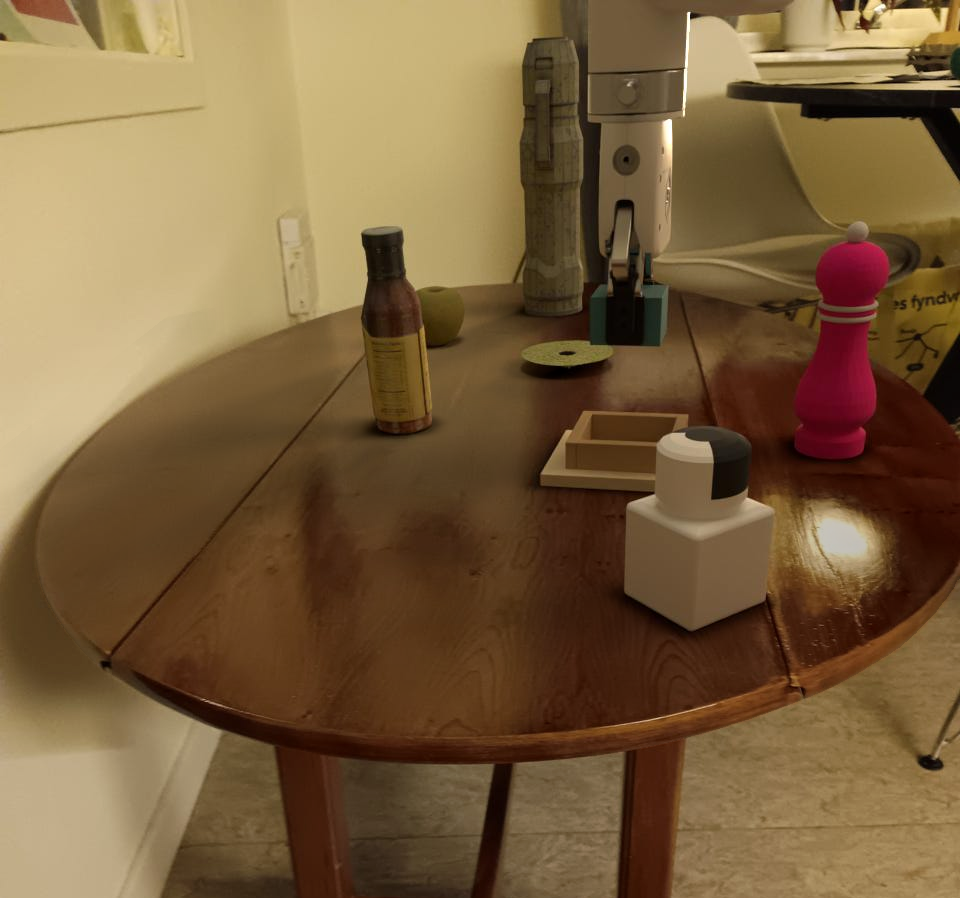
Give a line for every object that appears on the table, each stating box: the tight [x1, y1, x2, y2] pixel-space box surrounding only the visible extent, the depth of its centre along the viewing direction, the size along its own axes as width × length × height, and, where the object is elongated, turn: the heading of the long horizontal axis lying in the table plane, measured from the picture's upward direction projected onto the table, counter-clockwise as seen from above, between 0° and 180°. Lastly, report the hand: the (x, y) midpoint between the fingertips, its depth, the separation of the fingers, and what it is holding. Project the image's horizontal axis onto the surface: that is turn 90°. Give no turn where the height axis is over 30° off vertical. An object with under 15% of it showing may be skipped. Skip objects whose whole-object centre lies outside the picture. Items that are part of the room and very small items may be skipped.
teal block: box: [589, 284, 670, 348], centre depth 85 cm, size 6×5×4 cm
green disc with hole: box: [520, 339, 615, 370], centre depth 121 cm, size 11×11×2 cm
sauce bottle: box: [360, 225, 433, 435], centre depth 100 cm, size 6×6×20 cm
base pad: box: [539, 410, 689, 493], centre depth 91 cm, size 14×12×4 cm
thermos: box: [518, 36, 584, 317], centre depth 139 cm, size 9×12×35 cm
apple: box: [415, 285, 465, 347], centre depth 133 cm, size 8×8×7 cm
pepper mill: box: [792, 220, 890, 460], centre depth 88 cm, size 7×7×20 cm
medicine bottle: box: [623, 425, 776, 632], centre depth 67 cm, size 7×7×12 cm
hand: (629, 333), depth 86 cm, fingers closed on teal block, 5 cm apart
